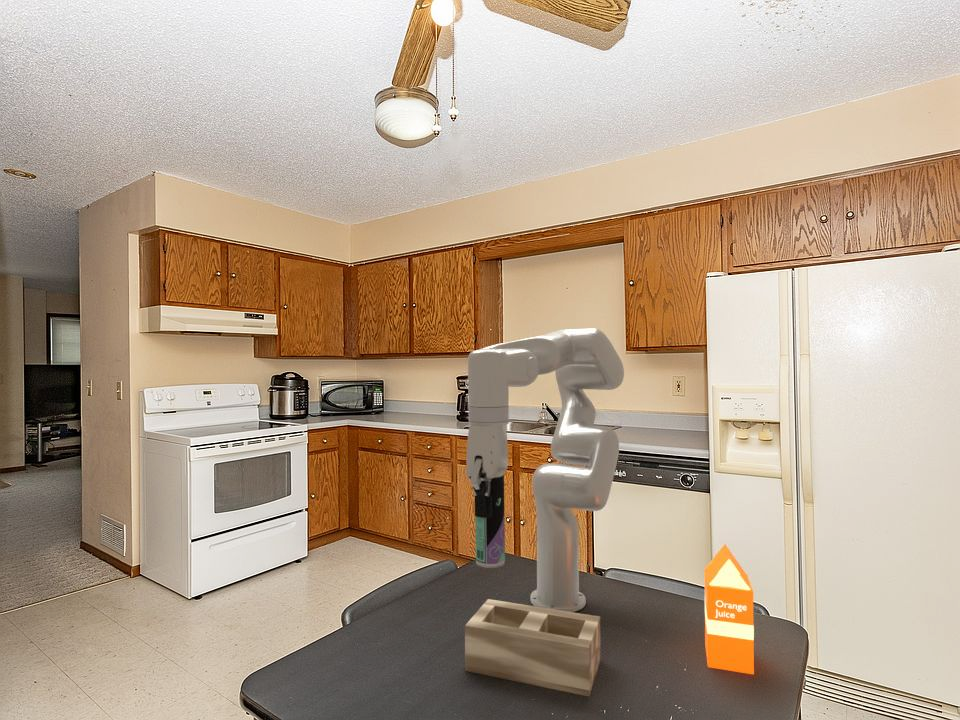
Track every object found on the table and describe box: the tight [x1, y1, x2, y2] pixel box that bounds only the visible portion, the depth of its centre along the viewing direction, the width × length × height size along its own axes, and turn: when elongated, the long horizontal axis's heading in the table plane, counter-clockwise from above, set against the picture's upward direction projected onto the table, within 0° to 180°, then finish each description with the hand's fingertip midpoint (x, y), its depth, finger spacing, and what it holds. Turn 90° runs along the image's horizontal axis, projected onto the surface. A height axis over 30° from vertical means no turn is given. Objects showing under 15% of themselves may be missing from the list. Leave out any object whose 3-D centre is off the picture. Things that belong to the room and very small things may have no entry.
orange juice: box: [703, 543, 755, 675], centre depth 103 cm, size 8×9×20 cm
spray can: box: [474, 468, 506, 569], centre depth 104 cm, size 6×6×20 cm
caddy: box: [464, 598, 601, 697], centre depth 101 cm, size 12×22×8 cm, turn 69°
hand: (489, 511), depth 104 cm, fingers closed on spray can, 5 cm apart
